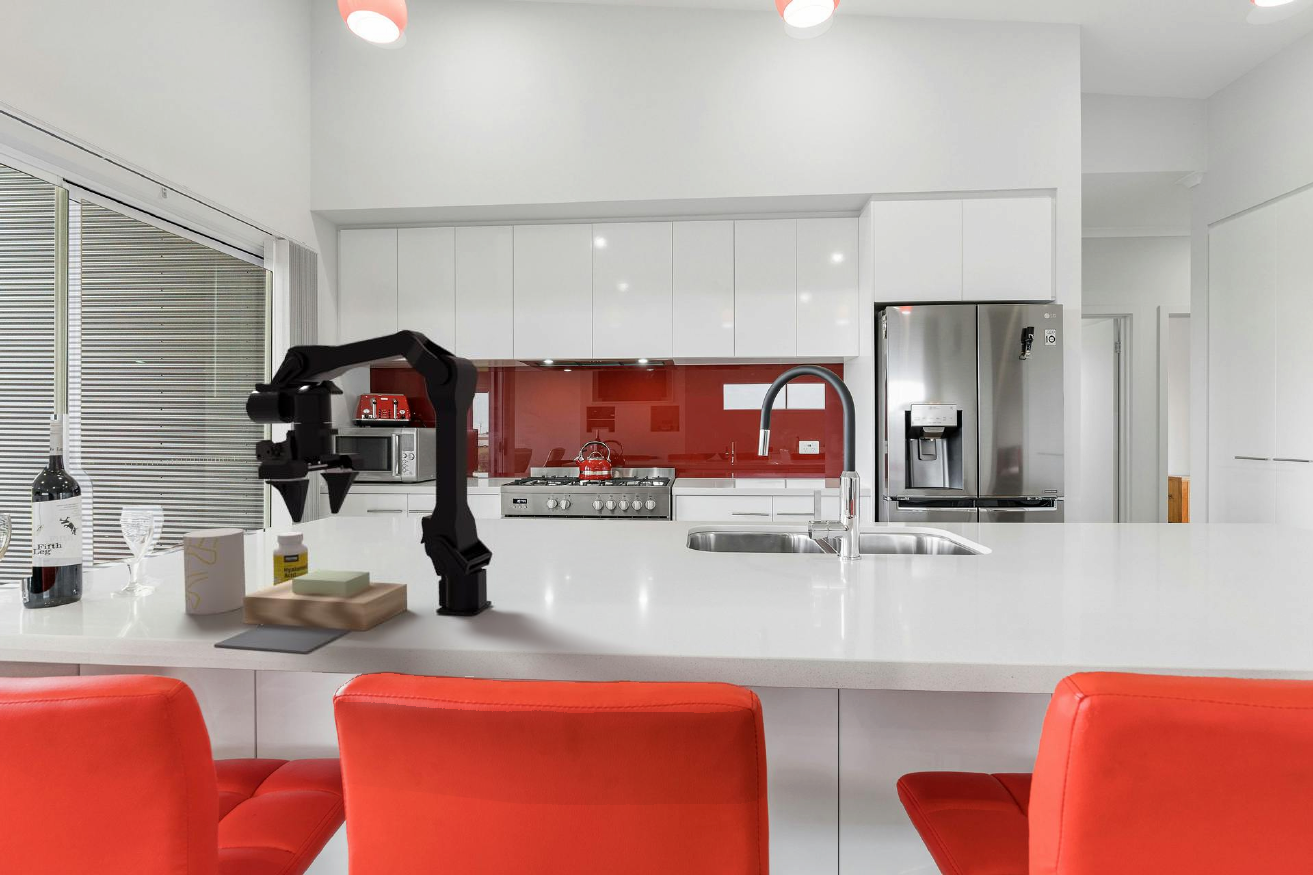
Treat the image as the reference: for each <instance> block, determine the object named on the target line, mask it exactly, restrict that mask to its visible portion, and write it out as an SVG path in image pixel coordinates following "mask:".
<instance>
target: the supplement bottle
mask: <svg viewBox="0 0 1313 875" xmlns="http://www.w3.org/2000/svg"><path fill="white" fill-rule="evenodd" d="M303 541H304V532H302V531H287V532H280V533H278V534H277V543H278V546H275V547H274V548H273V551H272V557H273V558H272V560H273V561H272V562H273V564H272V565H273V586H275V585H277V584H280V583H283V582H286V581H289V580H292V579H293V578H296V577H299V576H302V575H305V574H308V573H309V557H308V556H309V555H308V554H309V550H308V546H307V545H306V544H303Z"/></svg>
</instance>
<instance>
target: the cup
mask: <svg viewBox="0 0 1313 875" xmlns="http://www.w3.org/2000/svg"><path fill="white" fill-rule="evenodd" d="M244 535H245V534H244V529H243V528H237V527H224V528H222V527H221V528H207V529H201V530H195V531H189V532H186V533H184V534H182V542H183V545H182V546H183V566H184V567H183V569H184V572H183V573H184V603H185V613H186V614H190V615H210V614H211V615H212V614H214V615H215V614H220V613H225V612H229V611H233V610H236V609H240V608H242V607H243V596H245V595H246V572H245V571H246V570H245V564H246V563H245V537H244Z"/></svg>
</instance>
